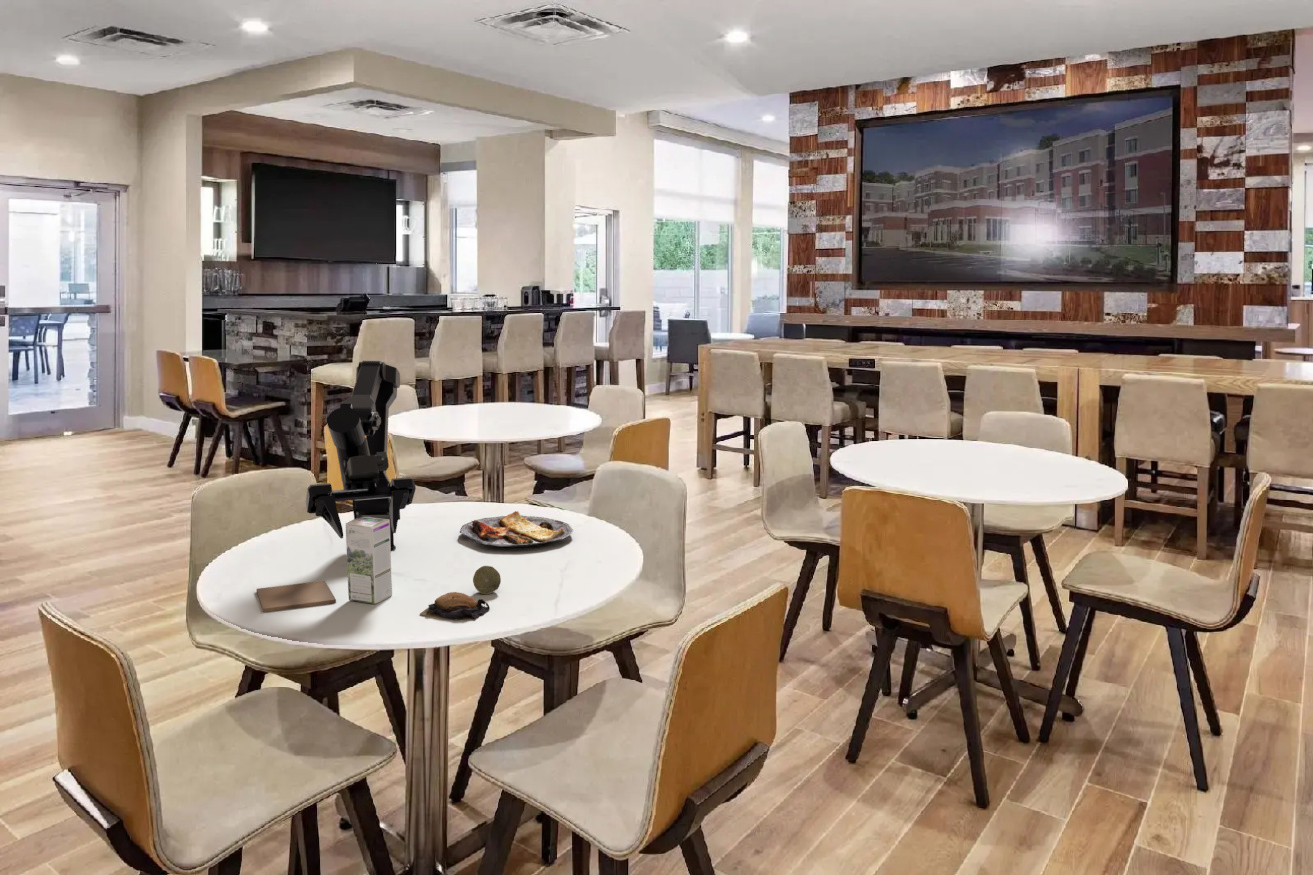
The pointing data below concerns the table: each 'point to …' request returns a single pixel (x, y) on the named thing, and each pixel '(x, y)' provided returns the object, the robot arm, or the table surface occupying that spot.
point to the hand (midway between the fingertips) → (368, 534)
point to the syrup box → (368, 559)
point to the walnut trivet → (295, 596)
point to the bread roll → (456, 607)
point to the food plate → (516, 530)
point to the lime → (486, 579)
